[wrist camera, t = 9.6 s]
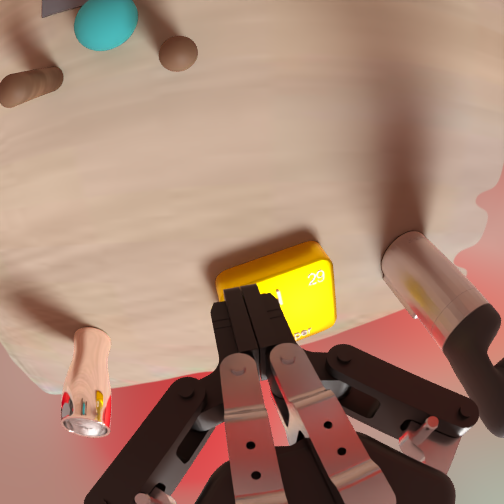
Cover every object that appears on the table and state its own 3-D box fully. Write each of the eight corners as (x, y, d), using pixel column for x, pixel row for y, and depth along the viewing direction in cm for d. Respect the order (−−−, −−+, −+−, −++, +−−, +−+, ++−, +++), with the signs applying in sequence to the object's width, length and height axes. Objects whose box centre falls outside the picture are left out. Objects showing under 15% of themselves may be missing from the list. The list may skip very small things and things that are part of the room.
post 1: (64, 88, 23) (27, 102, 16) (41, 94, 22) (0, 111, 15) (62, 63, 21) (23, 69, 14) (39, 70, 21) (-5, 80, 14)
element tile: (240, 338, 50) (247, 362, 46) (210, 272, 40) (215, 297, 37) (327, 307, 50) (339, 328, 47) (318, 234, 41) (334, 255, 37)
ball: (140, 55, 22) (125, 25, 17) (82, 65, 21) (58, 40, 16) (146, 8, 21) (135, -25, 16) (91, 18, 20) (72, -11, 15)
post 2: (191, 67, 25) (198, 69, 18) (163, 69, 25) (159, 73, 18) (190, 42, 24) (197, 34, 17) (162, 44, 23) (158, 38, 16)
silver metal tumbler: (62, 335, 40) (49, 422, 28) (91, 318, 40) (80, 412, 28) (93, 358, 44) (89, 441, 33) (123, 343, 44) (122, 432, 32)
